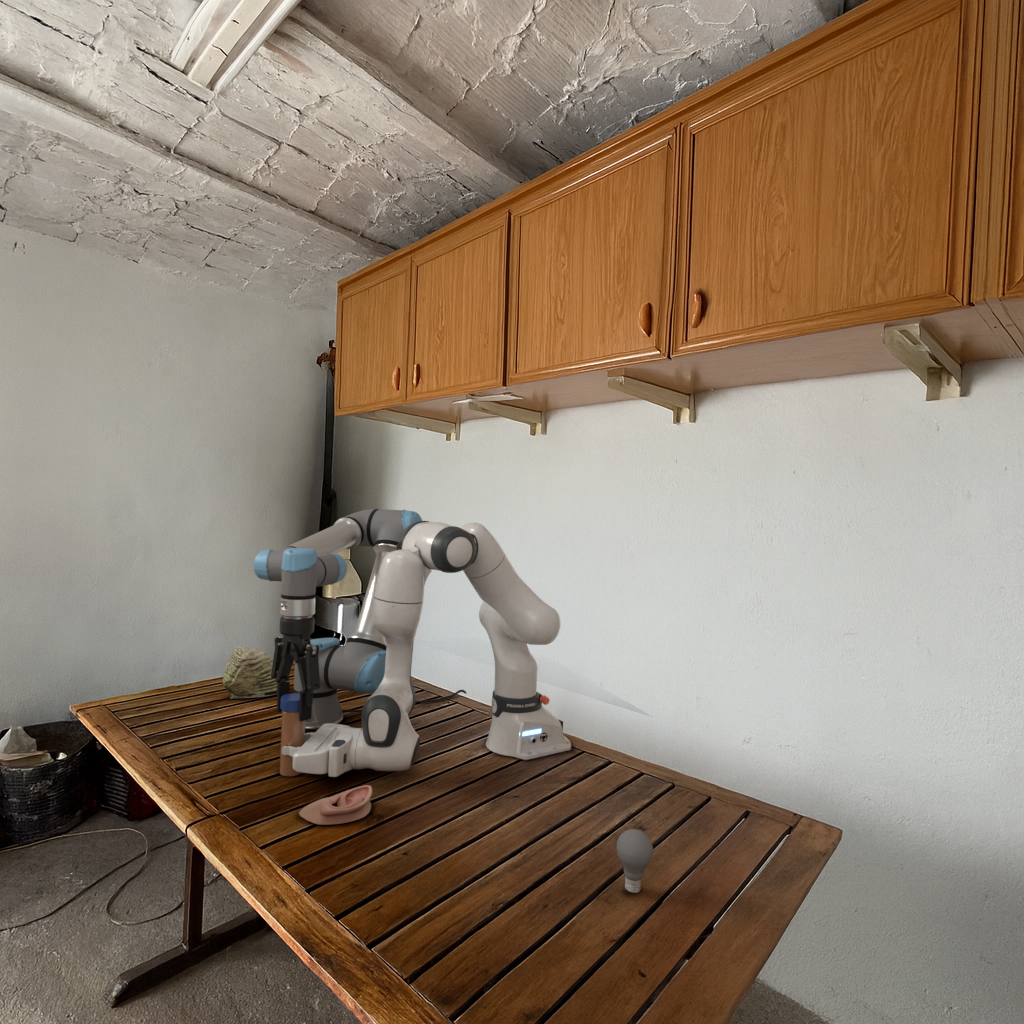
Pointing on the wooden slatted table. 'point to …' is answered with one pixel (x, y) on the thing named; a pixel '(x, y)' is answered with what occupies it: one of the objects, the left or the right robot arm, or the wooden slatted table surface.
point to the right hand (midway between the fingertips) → (288, 743)
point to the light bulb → (634, 857)
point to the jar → (290, 740)
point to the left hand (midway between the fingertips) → (293, 715)
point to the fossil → (249, 674)
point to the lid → (290, 702)
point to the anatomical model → (339, 807)
